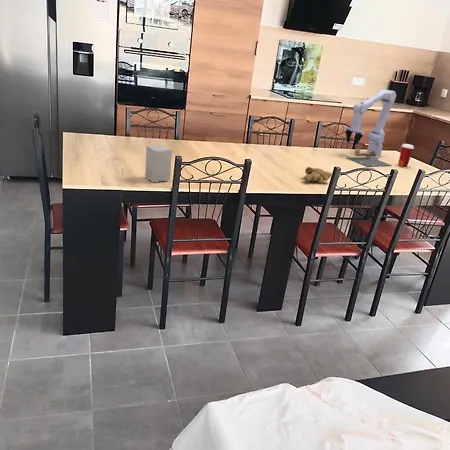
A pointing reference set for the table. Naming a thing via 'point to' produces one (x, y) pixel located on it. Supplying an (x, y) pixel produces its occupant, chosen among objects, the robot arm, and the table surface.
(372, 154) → the lever
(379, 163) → the plate
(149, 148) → the supplement box
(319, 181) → the ginger root
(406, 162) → the paper cup
